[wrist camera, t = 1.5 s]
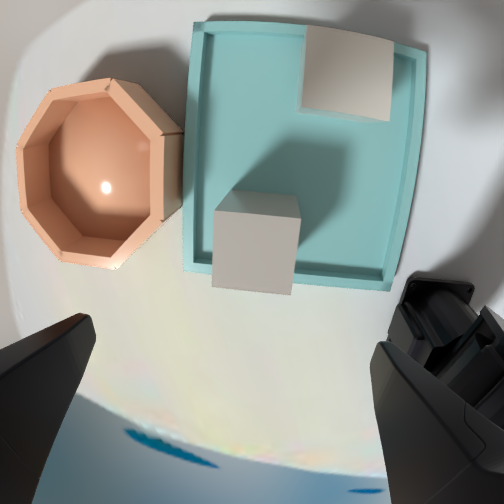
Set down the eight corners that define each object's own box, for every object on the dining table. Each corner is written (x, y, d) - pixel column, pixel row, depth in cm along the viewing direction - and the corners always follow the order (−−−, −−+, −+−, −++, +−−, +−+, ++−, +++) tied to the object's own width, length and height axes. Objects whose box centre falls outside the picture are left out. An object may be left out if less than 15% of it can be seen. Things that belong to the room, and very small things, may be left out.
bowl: (187, 80, 17) (168, 71, 14) (182, 253, 21) (165, 276, 18) (47, 97, 17) (17, 97, 14) (54, 239, 22) (28, 255, 19)
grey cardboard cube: (366, 61, 15) (393, 41, 10) (362, 122, 16) (389, 121, 12) (300, 50, 15) (306, 24, 11) (295, 113, 17) (301, 107, 12)
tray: (418, 55, 15) (426, 51, 13) (385, 283, 21) (390, 291, 20) (198, 27, 15) (193, 22, 14) (188, 263, 22) (183, 271, 20)
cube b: (296, 195, 19) (301, 218, 14) (289, 256, 20) (290, 295, 16) (230, 189, 19) (214, 210, 14) (227, 250, 20) (212, 286, 16)
